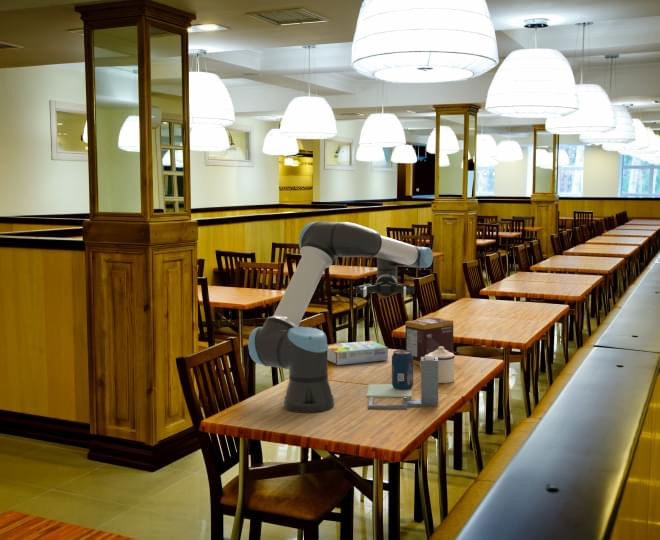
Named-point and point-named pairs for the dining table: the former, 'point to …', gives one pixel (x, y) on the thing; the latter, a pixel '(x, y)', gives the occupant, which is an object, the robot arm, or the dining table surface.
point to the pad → (386, 391)
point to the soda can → (402, 370)
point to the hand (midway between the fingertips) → (384, 293)
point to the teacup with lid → (444, 365)
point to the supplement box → (428, 336)
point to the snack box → (356, 352)
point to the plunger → (429, 357)
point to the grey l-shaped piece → (427, 388)
